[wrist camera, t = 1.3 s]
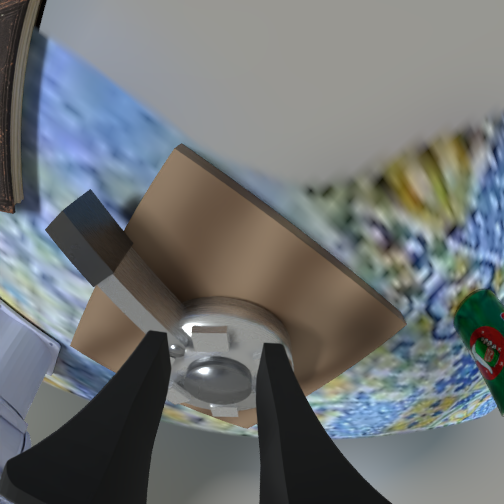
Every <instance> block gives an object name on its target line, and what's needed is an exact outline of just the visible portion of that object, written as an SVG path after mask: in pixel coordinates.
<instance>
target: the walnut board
mask: <svg viewBox="0 0 504 504" xmlns="http://www.w3.org/2000/svg"><path fill="white" fill-rule="evenodd" d="M124 232H125V233H126V235H127V236H128V237H129V238H130V240H131V241H132V242H133V245H132V246H131V247H132V248H133V249H134V250H135V251H136V253H137V254H138V255H139V256H140V257H141V258H142V260H143V261H144V262H145V263H146V264H147V265H148V267H149V268H150V269H151V270H152V271H153V272H154V273H155V274H156V276H157V277H158V278H159V279H160V280H161V281H162V282H163V283H164V285H165V286H166V287H167V288H168V289H169V290H170V291H171V292H172V293H173V294H174V295H175V297H176V298H177V299H178V300H179V301H180V302H181V303H182V302H184V301H187V300H191V299H194V298H200V297H212V296H217V297H229V298H236V299H240V300H244V301H247V302H250V303H253V304H256V305H258V306H260V307H262V308H264V309H265V310H267V311H269V312H270V313H272V314H273V315H274V316H275V317H277V318H278V319H279V320H280V321H281V323H282V324H283V325H284V327H285V328H286V330H287V332H288V334H289V337H290V341H291V349H292V357H293V366H294V374H295V376H296V378H297V381H298V383H299V385H300V387H301V389H302V391H303V393H304V395H305V397H306V396H307V395H309V394H311V393H312V392H314V391H315V390H317V389H319V388H320V387H322V386H323V385H325V384H326V383H328V382H330V381H331V380H333V379H334V378H336V377H337V376H339V375H340V374H342V373H343V372H345V371H346V370H347V369H349V368H350V367H352V366H353V365H355V364H356V363H357V362H359V361H360V360H362V359H363V358H364V357H366V356H367V355H368V354H370V353H371V352H373V351H374V350H375V349H377V348H378V347H379V346H380V345H382V344H383V343H384V342H386V341H387V340H388V339H390V338H391V337H392V336H393V335H395V334H396V333H397V332H398V331H400V330H401V329H402V328H403V327H404V326H406V325H407V324H406V322H405V320H404V318H403V316H402V314H401V312H400V311H399V310H397V309H396V308H395V307H394V306H393V305H392V304H390V303H389V302H388V301H387V300H386V299H385V298H383V297H382V296H381V295H380V294H379V293H377V292H376V291H375V290H374V289H373V288H371V287H370V286H369V285H368V284H367V283H365V282H364V281H363V280H362V279H361V278H359V277H358V276H357V275H356V274H355V273H353V272H352V271H351V270H350V269H348V268H347V267H346V266H345V265H343V264H342V263H341V262H340V261H339V260H337V259H336V258H335V257H334V256H332V255H331V254H330V253H329V252H327V251H326V250H325V249H324V248H322V247H321V246H320V245H318V244H317V243H316V242H315V241H313V240H312V239H311V238H310V237H308V236H307V235H306V234H304V233H303V232H302V231H301V230H299V229H298V228H297V227H295V226H294V225H293V224H292V223H290V222H289V221H288V220H286V219H285V218H284V217H282V216H281V215H280V214H278V213H277V212H276V211H274V210H273V209H272V208H270V207H269V206H268V205H266V204H265V203H264V202H262V201H261V200H260V199H258V198H257V197H256V196H254V195H253V194H252V193H250V192H249V191H248V190H246V189H245V188H243V187H242V186H241V185H239V184H238V183H237V182H235V181H234V180H232V179H231V178H230V177H228V176H227V175H226V174H224V173H223V172H221V171H220V170H219V169H217V168H216V167H214V166H213V165H212V164H210V163H209V162H207V161H206V160H204V159H203V158H202V157H200V156H199V155H197V154H196V153H194V152H193V151H192V150H190V149H189V148H187V147H186V146H184V145H183V144H180V145H178V146H177V147H176V148H174V150H173V151H172V153H171V154H170V156H169V157H168V159H167V160H166V162H165V163H164V165H163V166H162V168H161V170H160V171H159V173H158V174H157V176H156V177H155V179H154V181H153V182H152V184H151V185H150V187H149V189H148V190H147V192H146V193H145V195H144V197H143V198H142V200H141V202H140V203H139V205H138V207H137V209H136V210H135V212H134V214H133V215H132V217H131V219H130V221H129V223H128V224H127V226H126V228H125V230H124ZM145 335H146V334H145V333H144V332H143V331H142V330H141V329H140V328H139V327H138V326H137V325H136V324H135V323H134V322H133V321H131V320H130V319H129V318H128V317H127V316H126V315H125V314H124V313H123V312H122V311H121V310H120V309H119V308H118V307H117V306H116V305H115V304H114V303H113V302H112V300H111V299H110V298H109V297H108V296H107V295H106V294H105V293H104V292H103V291H102V290H101V289H100V288H99V287H98V286H97V285H96V286H95V289H94V291H93V293H92V295H91V297H90V299H89V302H88V304H87V306H86V308H85V311H84V313H83V315H82V318H81V320H80V322H79V325H78V327H77V330H76V332H75V334H74V337H73V340H72V342H71V345H70V346H71V347H73V348H74V349H76V350H78V351H79V352H81V353H82V354H84V355H86V356H87V357H89V358H91V359H92V360H94V361H96V362H97V363H99V364H101V365H103V366H104V367H106V368H108V369H110V370H112V371H113V372H115V373H117V371H118V370H119V369H120V368H121V366H122V365H123V364H124V363H125V362H126V360H127V359H128V358H129V356H130V355H131V354H132V353H133V351H134V350H135V349H136V347H137V346H138V344H139V343H140V342H141V340H142V339H143V338H144V336H145ZM180 404H182V405H184V406H186V407H189V408H191V409H194V410H196V411H199V412H201V413H204V414H207V415H209V416H212V417H215V418H217V419H220V420H223V421H226V422H228V423H231V424H234V425H237V426H240V427H243V428H247V429H248V428H250V427H252V426H253V425H255V424H257V413H256V408H253V409H248V410H241V411H239V413H238V417H216V416H213V415H212V412H211V410H209V409H204V408H200V407H196V406H193V405H190V404H187V403H185V402H184V403H180Z"/></svg>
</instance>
